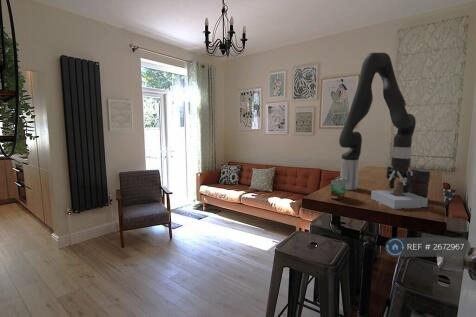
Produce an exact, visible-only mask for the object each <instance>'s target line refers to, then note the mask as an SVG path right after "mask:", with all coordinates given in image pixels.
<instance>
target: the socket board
mask: <svg viewBox="0 0 476 317" xmlns="http://www.w3.org/2000/svg"><path fill="white" fill-rule="evenodd" d="M393 193H394V189H388V190H371V193H370V194H371V195H370V199H371V200H374V201H376V202H377V203H380V204H382V205H385V206H387V207H389V208H391V209H393V210H398V209H399V210H401V209H402V208H404V209H422V208H421V207H427V208H428V202H429V201H428V200H429V199H428V198H427V197H426V198H424V197H421V196H418V195H415V194H412V193H409V192H408V193H402V196H395V195H393Z"/></svg>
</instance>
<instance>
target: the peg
mask: <svg viewBox="0 0 476 317" xmlns="http://www.w3.org/2000/svg"><path fill="white" fill-rule="evenodd" d="M394 181H395V182H394V188H393V190H394V193H393V195H395V196H402V193H403V185H404V184H403V182H402V181H398V180H397V181H396V180H394Z"/></svg>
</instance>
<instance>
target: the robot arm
mask: <svg viewBox="0 0 476 317" xmlns="http://www.w3.org/2000/svg"><path fill="white" fill-rule="evenodd" d="M376 74H378V75H379V76H380V78H381V80H382V95H383V99H384V101H385V103H386V106H387V108H388V110H389V115H390V121H391V123H392V124H393V126H394V127H395V128H396V129H397V131H396V132H397V133H396V134H395V135H394V138H393V145H392V151H391V161H390V162H391V164H390V166H387V168H386V169H387V170H386V179H388V181H389V182H388V183H389V184H388V187H389V188H390V189H394V182H395V181H396V179H398V180H399V179H400V182H403V193H408V192H409V185H413V184H414V171H411V170H410V171H409V168H411V162H412V145H413V144H412V142H413V136H414V132H415V129H416V124H417V122H416V118H415V116H414V115H413V114H411V113H408V112H407V109H406V105H407V103H406V100H405V98H404V96H403V94H402V92H401V89H400V88H399V84H398V82H397V79H396V78H397V77H396V75H395V70H394V67H393V63H392V59H391V57H390V54H388V53H386V52H370V53H368V54H367V55H366V56H365V58H364V59H363V62H362V65H361V69H360V74H359V80H358V82H357V86H356V89H355V93H354V97H353V99H352V103H351V104H350V107H349V108H350V109H349V112H348V115H347V118H346V121H345V123H344V126H343V127H342V130H341V132H340V135H339V138H338V142H339V143H338V145H339V146H340V147H341V148H344V149H348V151H346V152H344V153H342V154H341V160H340V161H341V163H340V164H341V165H340V175H339V177H344V178H346V180H347V184H346V187H345V190H347V191H348V190H349V191H353V190H354V191H355V190H357V189H358V182H359V163H360V161H359V160H360V156H361V152H362V144H363V137H362V134H361V133H360V131H354V130H355V128H356V126H357V125H358V124H359V123H360V122H361V121H362V120H363V119H364V118H365V117H367V115H368V114H369V112H370V109H371V106H372V104H373V100H374V99H373V98H374V97H373V89H372V86H373V81H374V78H375V75H376ZM410 179H411V182H410Z"/></svg>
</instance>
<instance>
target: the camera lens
mask: <svg viewBox="0 0 476 317" xmlns="http://www.w3.org/2000/svg"><path fill="white" fill-rule="evenodd" d="M410 171H414V184H413V185H409V193H412V194H415V195H418V196H421V197H424V198H427V197H428V194H429V184H430V179H431V171H430V170H428V169H424V168H423V169H422V168H410ZM410 182H411V179H410Z"/></svg>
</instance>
